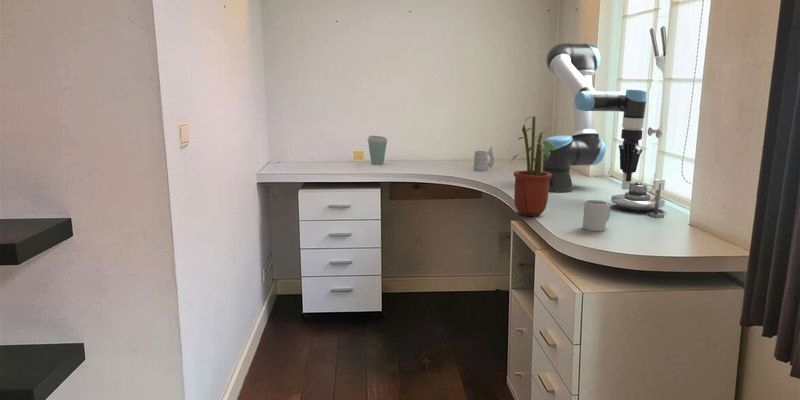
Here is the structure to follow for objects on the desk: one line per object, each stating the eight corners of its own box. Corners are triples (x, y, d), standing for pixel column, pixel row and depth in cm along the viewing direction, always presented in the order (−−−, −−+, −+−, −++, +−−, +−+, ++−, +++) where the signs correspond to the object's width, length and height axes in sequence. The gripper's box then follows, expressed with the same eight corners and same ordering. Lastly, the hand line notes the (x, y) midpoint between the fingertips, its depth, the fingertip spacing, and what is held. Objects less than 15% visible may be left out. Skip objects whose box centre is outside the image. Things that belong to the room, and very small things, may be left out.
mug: (470, 169, 321) (471, 146, 319) (489, 168, 326) (490, 146, 323) (477, 171, 314) (478, 148, 312) (497, 171, 319) (498, 148, 316)
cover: (632, 201, 227) (633, 185, 226) (620, 196, 236) (621, 181, 235) (654, 201, 229) (656, 185, 227) (641, 196, 237) (643, 181, 236)
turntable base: (631, 212, 227) (631, 206, 226) (615, 205, 237) (616, 200, 237) (658, 211, 228) (658, 206, 228) (641, 205, 239) (642, 200, 239)
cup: (577, 227, 201) (579, 201, 199) (599, 224, 206) (601, 198, 204) (594, 232, 195) (597, 205, 193) (616, 229, 200) (618, 202, 198)
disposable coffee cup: (390, 164, 334) (391, 136, 332) (379, 166, 326) (380, 137, 323) (374, 162, 340) (375, 135, 337) (363, 164, 331) (363, 136, 328)
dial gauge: (653, 217, 218) (657, 180, 216) (644, 213, 224) (648, 178, 222) (664, 217, 219) (668, 180, 217) (654, 213, 225) (658, 178, 222)
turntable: (627, 208, 222) (630, 185, 220) (601, 198, 240) (603, 176, 238) (675, 207, 225) (677, 185, 223) (646, 197, 243) (648, 176, 242)
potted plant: (541, 220, 210) (548, 117, 203) (499, 214, 218) (504, 115, 211) (557, 211, 224) (564, 115, 217) (517, 206, 232) (523, 113, 225)
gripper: (650, 130, 230) (643, 192, 235) (632, 127, 242) (625, 185, 247) (632, 130, 228) (625, 192, 233) (614, 127, 241) (608, 185, 246)
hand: (625, 189), depth 240 cm, fingers closed
